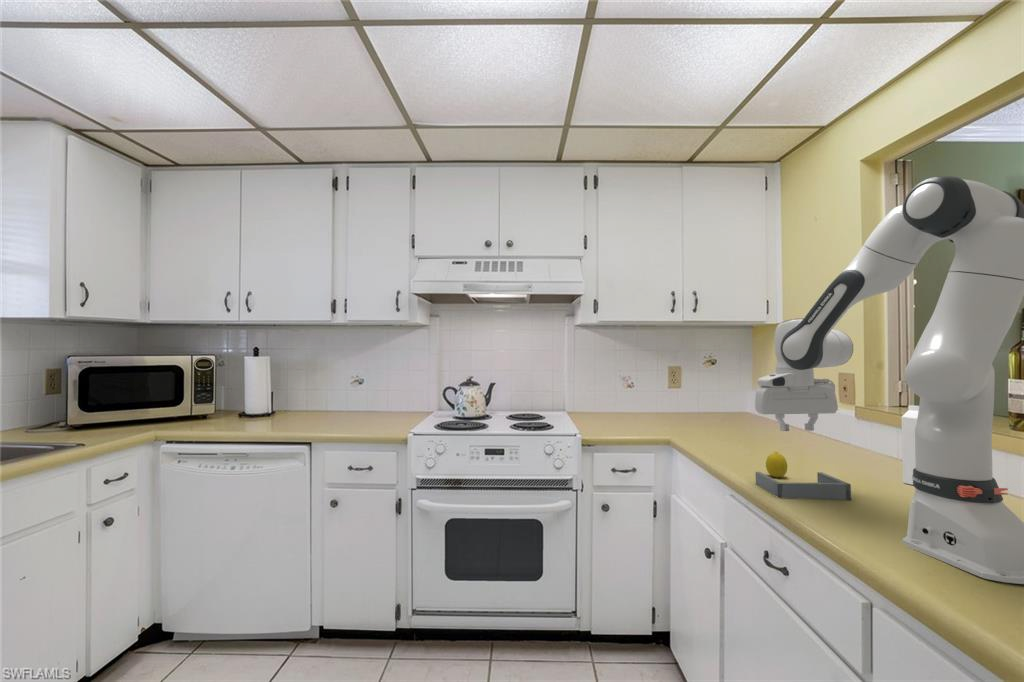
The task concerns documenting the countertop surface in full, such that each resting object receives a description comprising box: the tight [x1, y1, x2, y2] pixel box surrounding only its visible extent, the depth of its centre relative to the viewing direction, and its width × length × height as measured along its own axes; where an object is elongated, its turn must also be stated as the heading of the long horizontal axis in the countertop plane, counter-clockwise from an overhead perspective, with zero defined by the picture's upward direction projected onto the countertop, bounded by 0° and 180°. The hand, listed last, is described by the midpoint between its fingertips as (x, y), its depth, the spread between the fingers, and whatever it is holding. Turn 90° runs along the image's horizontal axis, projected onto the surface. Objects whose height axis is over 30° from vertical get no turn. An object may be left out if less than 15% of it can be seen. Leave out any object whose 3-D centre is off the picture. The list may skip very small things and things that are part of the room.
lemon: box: [765, 451, 788, 479], centre depth 139 cm, size 6×6×8 cm
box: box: [755, 471, 852, 501], centre depth 126 cm, size 12×18×4 cm, turn 87°
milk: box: [901, 404, 919, 486], centre depth 133 cm, size 6×6×22 cm
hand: (797, 430), depth 127 cm, fingers open, 5 cm apart
